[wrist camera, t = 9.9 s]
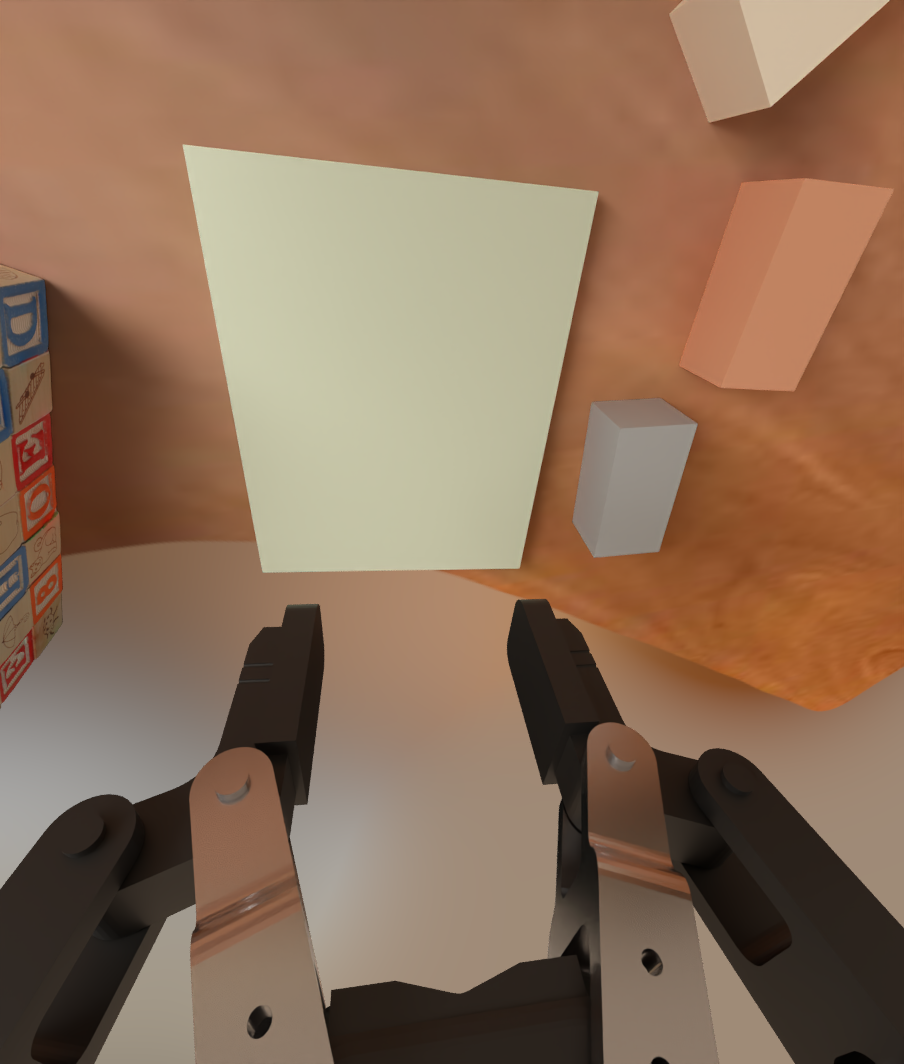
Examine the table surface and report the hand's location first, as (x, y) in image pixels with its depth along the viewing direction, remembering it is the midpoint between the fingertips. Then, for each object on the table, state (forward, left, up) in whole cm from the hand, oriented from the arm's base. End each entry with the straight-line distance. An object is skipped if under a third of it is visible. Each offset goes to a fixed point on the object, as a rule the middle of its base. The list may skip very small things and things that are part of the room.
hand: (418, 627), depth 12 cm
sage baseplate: (0, 0, -16) cm, 16 cm away
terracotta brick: (-7, +17, -16) cm, 24 cm away
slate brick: (+3, +13, -16) cm, 21 cm away
